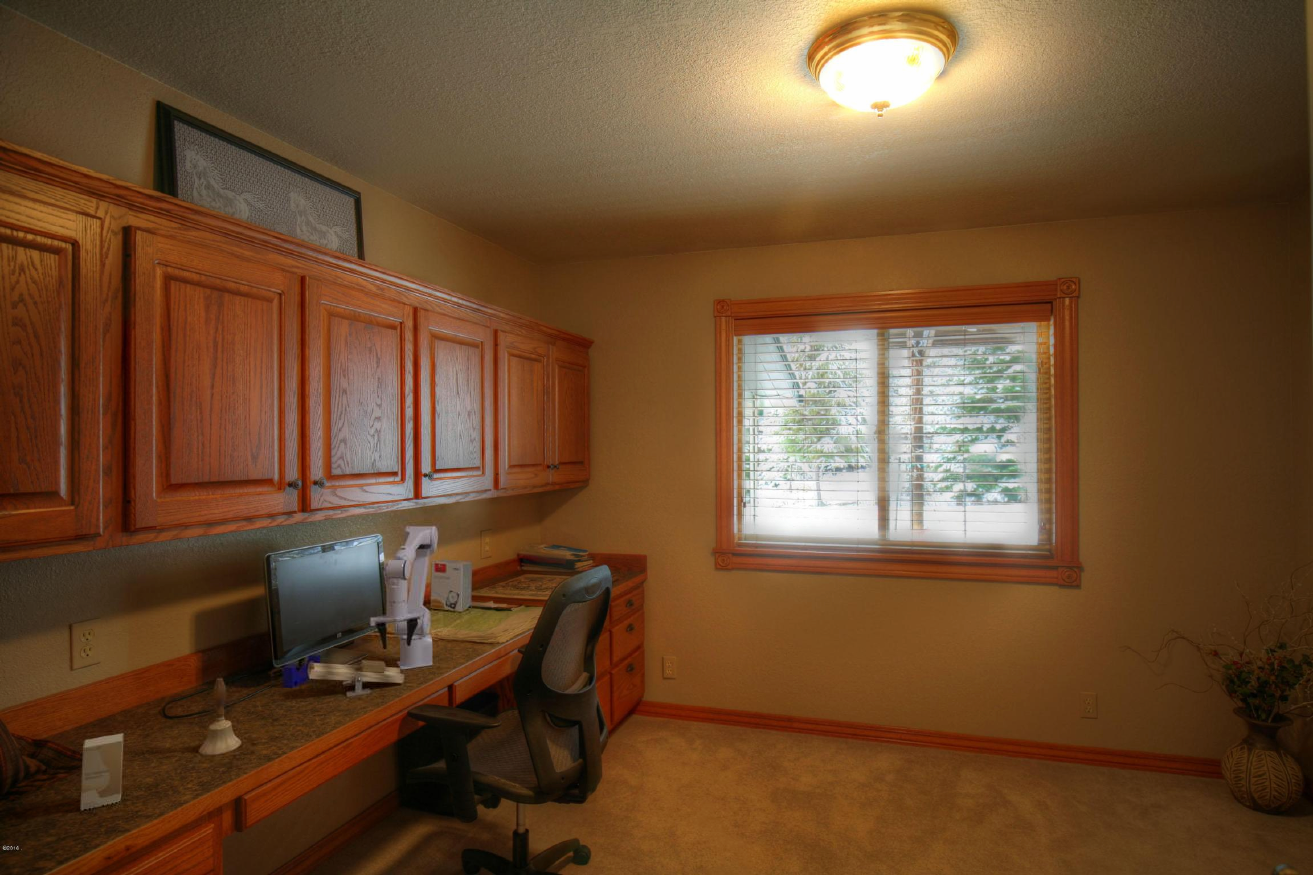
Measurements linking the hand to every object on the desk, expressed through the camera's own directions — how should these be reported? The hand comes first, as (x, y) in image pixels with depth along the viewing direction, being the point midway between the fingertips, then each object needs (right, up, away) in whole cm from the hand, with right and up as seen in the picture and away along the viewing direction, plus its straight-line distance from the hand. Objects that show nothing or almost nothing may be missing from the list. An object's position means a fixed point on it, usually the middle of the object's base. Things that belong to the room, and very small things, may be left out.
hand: (396, 646), depth 203 cm
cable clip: (-29, -11, +1) cm, 31 cm away
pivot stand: (-9, -10, -5) cm, 15 cm away
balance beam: (-9, -6, -5) cm, 13 cm away
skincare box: (-33, -10, -67) cm, 76 cm away
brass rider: (-6, -7, -3) cm, 10 cm away
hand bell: (-25, -10, -43) cm, 51 cm away
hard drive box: (-10, -11, +87) cm, 88 cm away
